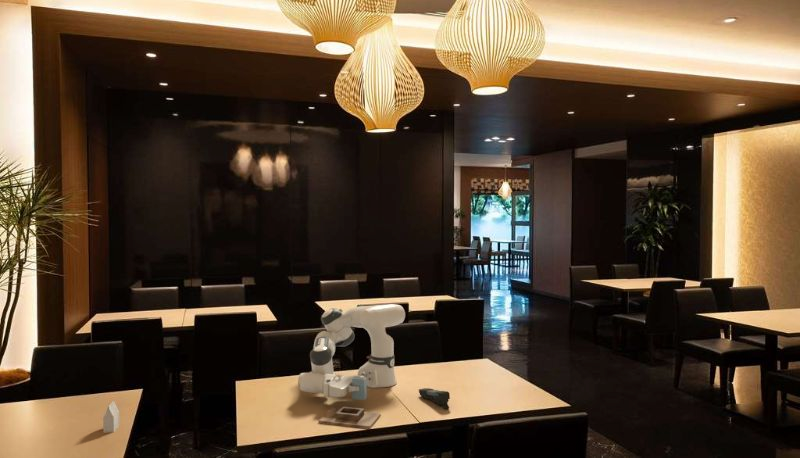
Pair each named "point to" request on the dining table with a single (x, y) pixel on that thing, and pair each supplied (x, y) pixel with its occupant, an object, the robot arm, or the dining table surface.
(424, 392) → the gun
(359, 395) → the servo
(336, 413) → the walnut board
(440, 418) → the dining table surface
